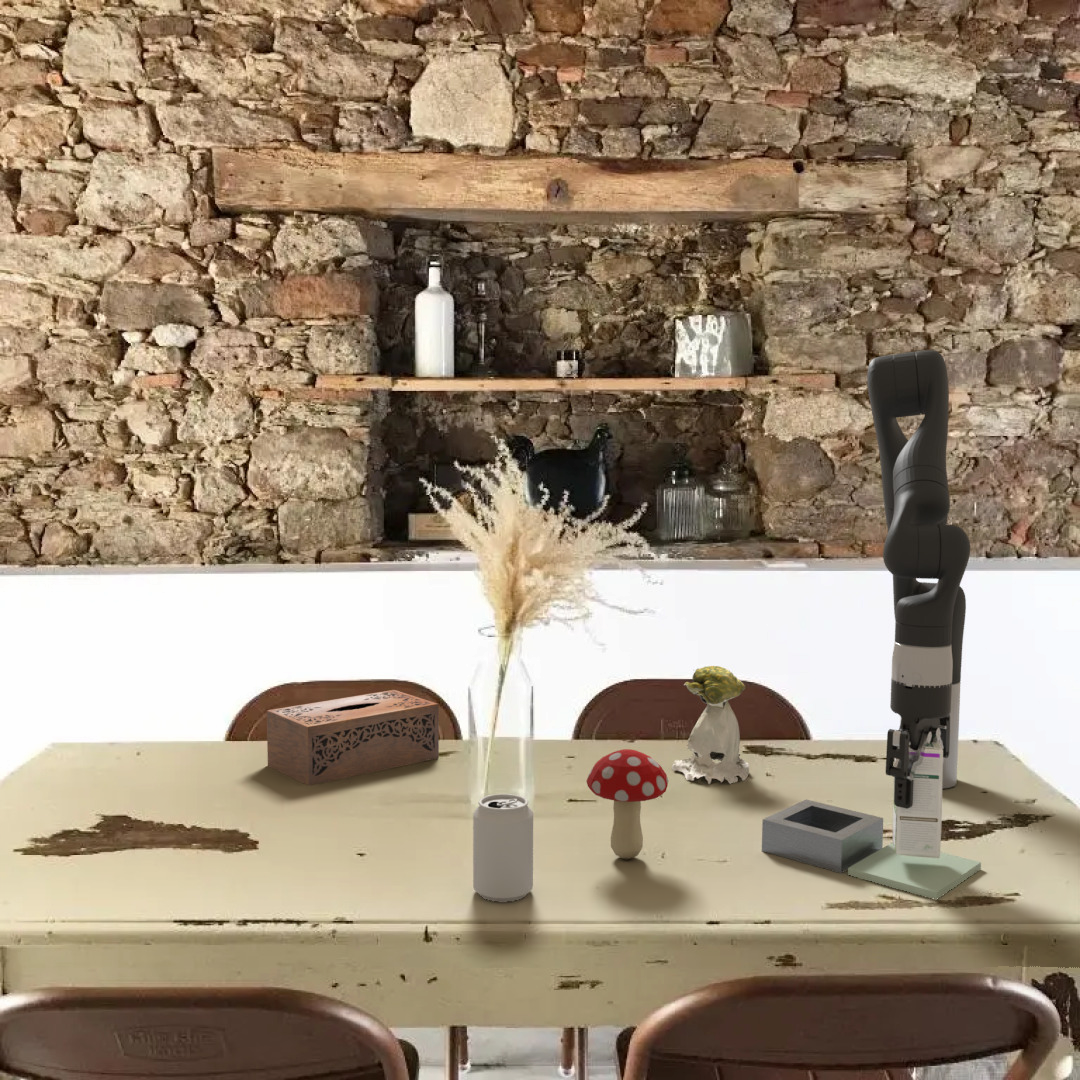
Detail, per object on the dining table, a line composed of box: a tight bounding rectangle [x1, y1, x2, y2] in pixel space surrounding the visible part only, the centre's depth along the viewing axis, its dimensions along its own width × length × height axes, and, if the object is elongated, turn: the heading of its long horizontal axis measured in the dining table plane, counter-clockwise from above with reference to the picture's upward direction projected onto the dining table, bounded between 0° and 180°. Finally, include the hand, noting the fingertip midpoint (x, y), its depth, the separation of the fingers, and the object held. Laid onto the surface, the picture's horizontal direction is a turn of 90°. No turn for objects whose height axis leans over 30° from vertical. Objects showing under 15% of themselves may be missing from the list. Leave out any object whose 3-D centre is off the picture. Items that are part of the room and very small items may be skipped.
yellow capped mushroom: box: [671, 665, 750, 785], centre depth 197 cm, size 12×13×18 cm
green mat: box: [847, 841, 982, 900], centre depth 154 cm, size 14×12×1 cm
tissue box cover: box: [266, 689, 440, 786], centre depth 203 cm, size 26×14×10 cm, turn 130°
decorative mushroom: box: [586, 748, 669, 860], centre depth 158 cm, size 11×11×15 cm
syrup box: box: [891, 742, 943, 858], centre depth 153 cm, size 6×6×14 cm
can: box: [472, 793, 534, 903], centre depth 146 cm, size 8×8×12 cm
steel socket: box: [761, 799, 884, 874], centre depth 162 cm, size 12×12×4 cm
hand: (917, 799), depth 153 cm, fingers closed on syrup box, 8 cm apart
